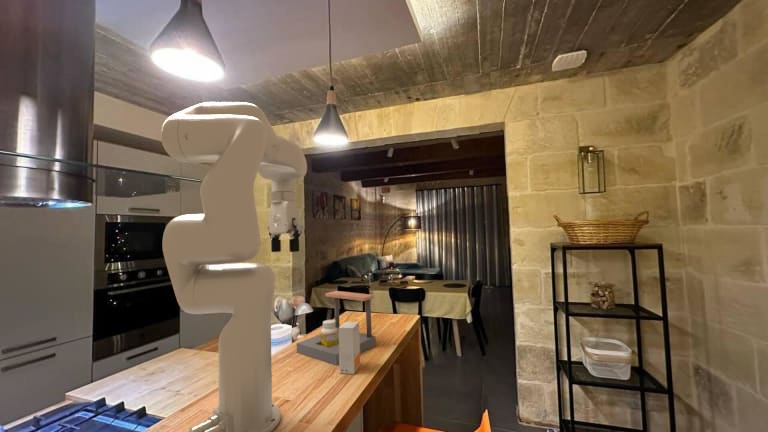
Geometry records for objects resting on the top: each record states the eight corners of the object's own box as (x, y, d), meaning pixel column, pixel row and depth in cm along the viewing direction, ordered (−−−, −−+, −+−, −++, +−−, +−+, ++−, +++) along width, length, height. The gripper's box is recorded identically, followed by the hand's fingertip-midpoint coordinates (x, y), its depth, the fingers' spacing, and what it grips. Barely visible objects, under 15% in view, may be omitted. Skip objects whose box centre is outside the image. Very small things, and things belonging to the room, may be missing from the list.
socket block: (336, 365, 85) (334, 306, 86) (296, 352, 96) (295, 300, 97) (376, 345, 99) (374, 294, 100) (337, 336, 110) (336, 290, 111)
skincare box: (354, 374, 79) (353, 328, 80) (339, 373, 80) (337, 327, 80) (361, 364, 85) (359, 321, 86) (346, 364, 86) (345, 321, 86)
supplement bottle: (339, 354, 93) (338, 322, 94) (322, 356, 91) (321, 324, 92) (337, 348, 98) (336, 318, 99) (320, 350, 97) (319, 320, 97)
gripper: (258, 200, 99) (259, 252, 98) (290, 194, 89) (291, 252, 88) (278, 202, 105) (279, 251, 104) (310, 196, 95) (311, 250, 94)
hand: (285, 251), depth 96 cm, fingers open, 9 cm apart
